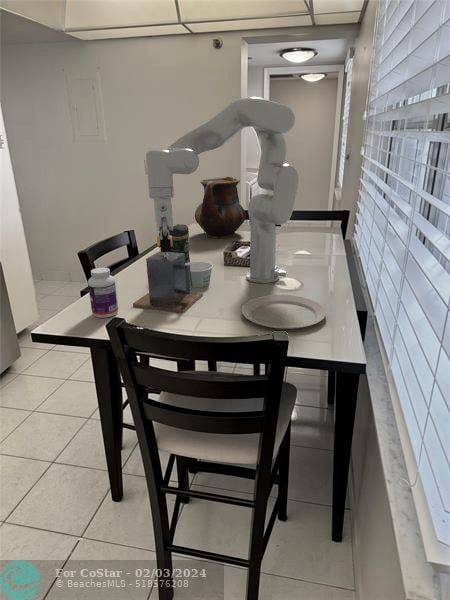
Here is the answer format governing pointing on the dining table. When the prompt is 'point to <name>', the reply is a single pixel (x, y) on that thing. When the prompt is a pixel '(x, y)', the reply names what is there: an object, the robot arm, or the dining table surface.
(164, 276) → the block on wooden base
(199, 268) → the food container
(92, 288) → the pill bottle
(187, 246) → the coffee jar
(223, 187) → the jug
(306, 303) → the plate
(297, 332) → the dining table surface
